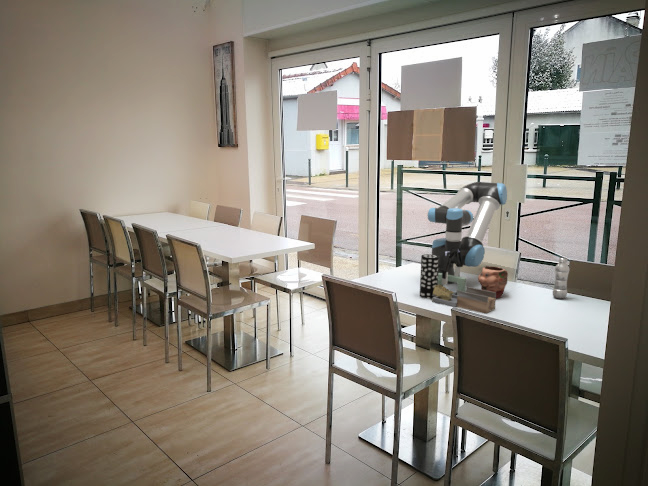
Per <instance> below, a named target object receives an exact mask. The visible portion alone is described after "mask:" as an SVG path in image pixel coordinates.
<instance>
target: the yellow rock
mask: <svg viewBox="0 0 648 486" xmlns="http://www.w3.org/2000/svg"><path fill="white" fill-rule="evenodd" d="M444 289H447V287H445V286H444V287H443V286H442V285H440V284H439V285H436V286H435V288H434V291H433V294H435V295H437V296H438V297H440V296H441V293H442V290H444Z"/></svg>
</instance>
